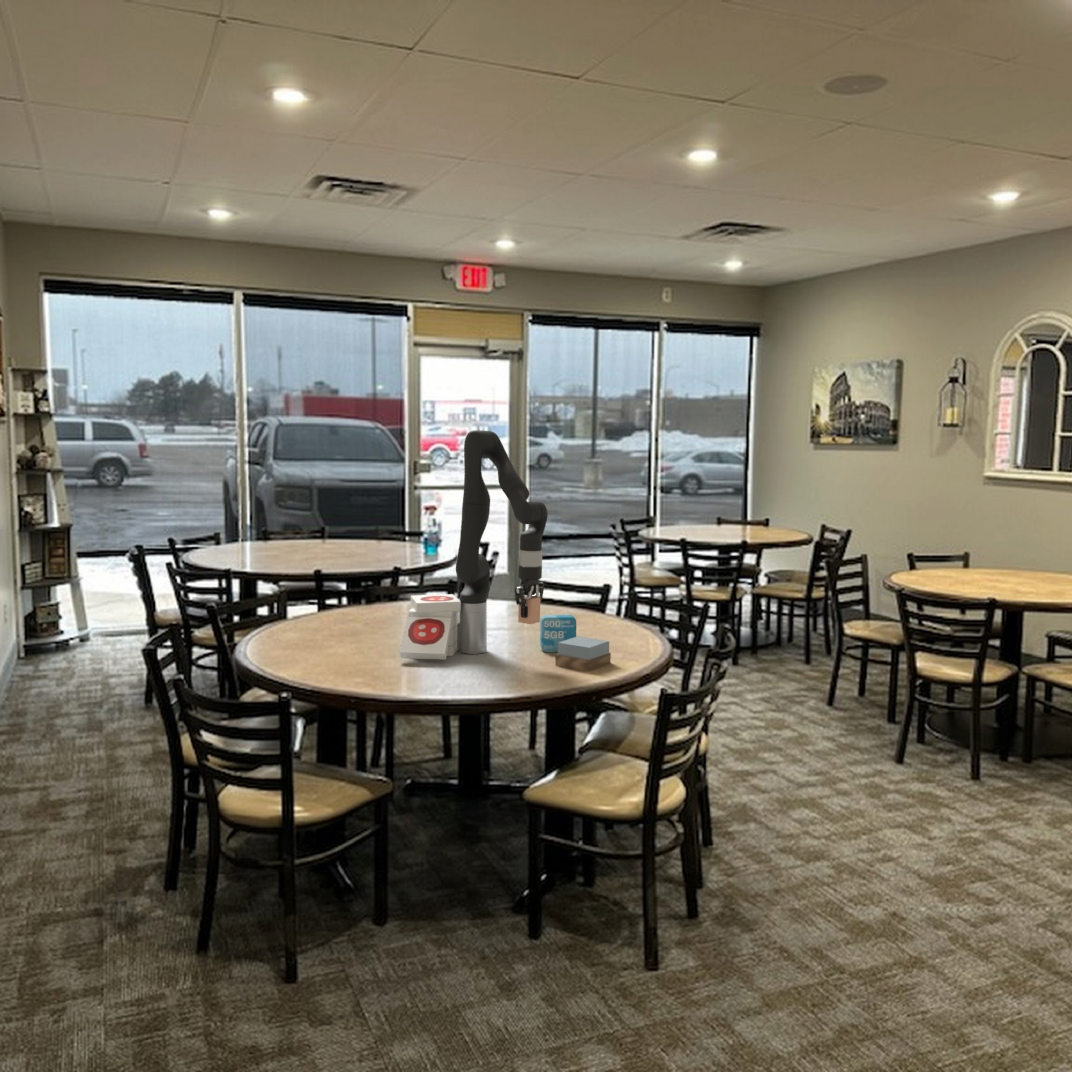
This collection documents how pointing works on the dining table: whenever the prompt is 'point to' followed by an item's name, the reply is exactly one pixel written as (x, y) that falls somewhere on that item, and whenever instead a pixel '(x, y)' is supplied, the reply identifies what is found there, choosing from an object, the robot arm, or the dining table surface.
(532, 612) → the terracotta block
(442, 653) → the pizza boxes
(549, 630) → the data package
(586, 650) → the tower top
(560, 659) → the tower base
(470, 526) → the robot arm
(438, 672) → the dining table surface
